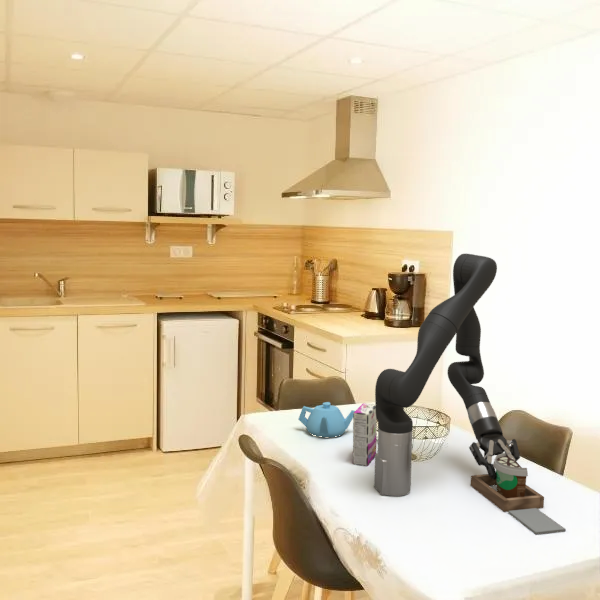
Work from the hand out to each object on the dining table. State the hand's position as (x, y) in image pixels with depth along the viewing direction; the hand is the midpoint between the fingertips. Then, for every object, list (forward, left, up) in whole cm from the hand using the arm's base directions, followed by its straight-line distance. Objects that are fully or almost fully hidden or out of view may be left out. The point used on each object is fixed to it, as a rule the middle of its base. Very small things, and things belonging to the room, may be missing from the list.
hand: (505, 477), depth 178 cm
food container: (-1, -1, -5) cm, 5 cm away
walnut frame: (-1, -1, -5) cm, 5 cm away
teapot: (-33, +61, -5) cm, 69 cm away
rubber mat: (-2, -17, -5) cm, 18 cm away
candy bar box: (-29, +33, -5) cm, 44 cm away
